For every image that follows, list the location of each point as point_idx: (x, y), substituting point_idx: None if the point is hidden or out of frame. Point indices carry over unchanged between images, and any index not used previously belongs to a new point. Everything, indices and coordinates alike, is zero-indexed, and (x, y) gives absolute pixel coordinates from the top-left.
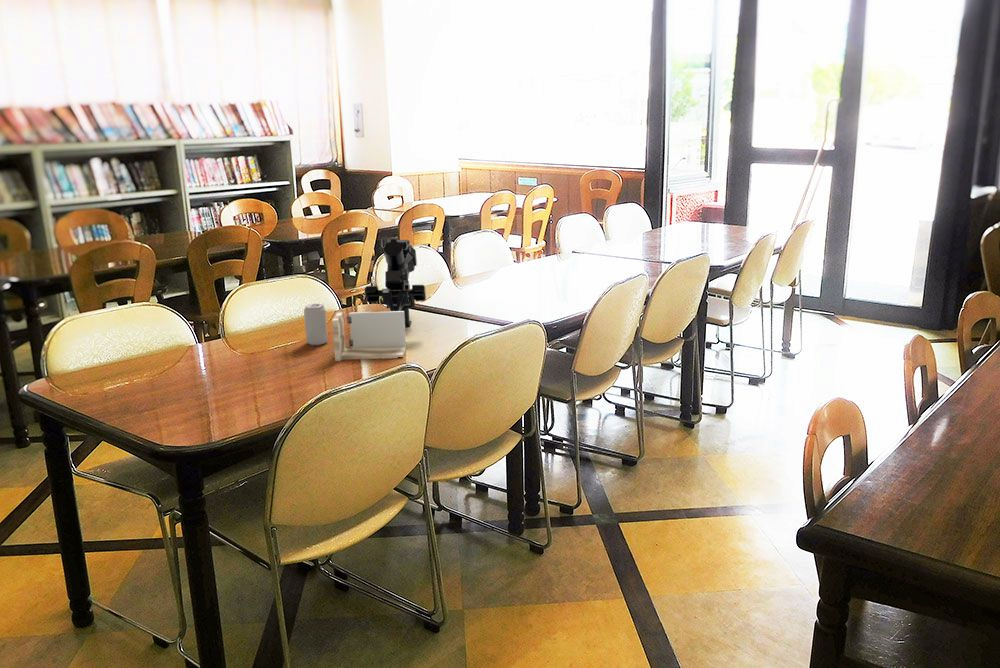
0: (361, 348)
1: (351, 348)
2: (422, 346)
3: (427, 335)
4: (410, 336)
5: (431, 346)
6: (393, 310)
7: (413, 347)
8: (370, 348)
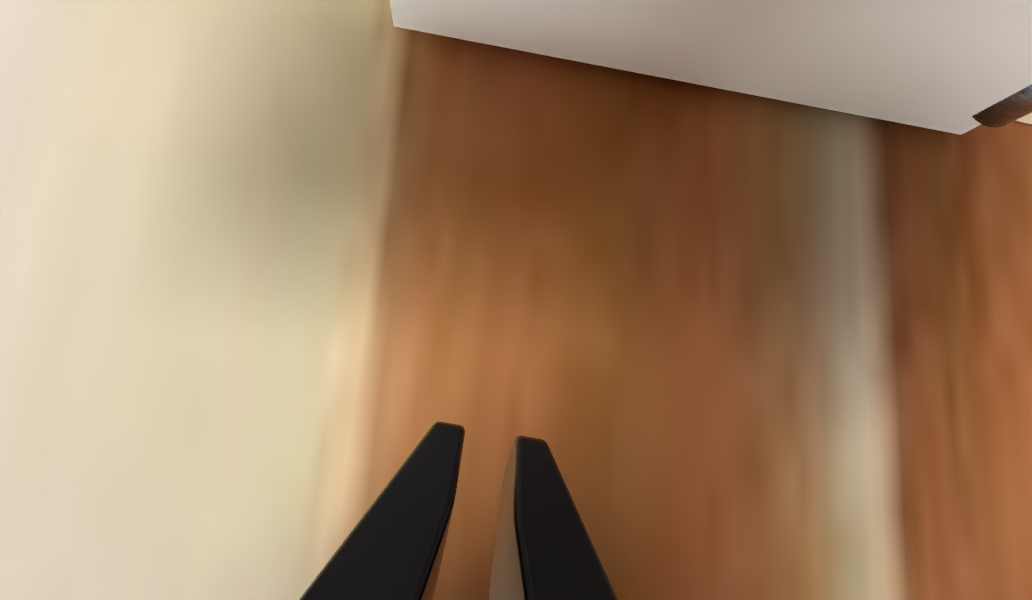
0: None
1: None
2: (202, 53)
3: (34, 534)
4: (270, 540)
5: (98, 22)
6: (509, 577)
7: (309, 45)
8: None
